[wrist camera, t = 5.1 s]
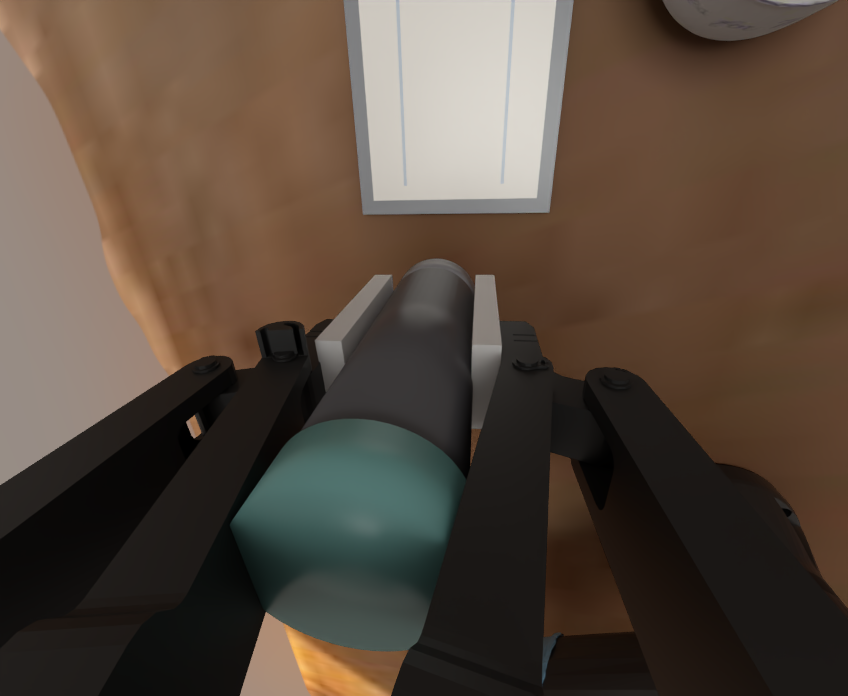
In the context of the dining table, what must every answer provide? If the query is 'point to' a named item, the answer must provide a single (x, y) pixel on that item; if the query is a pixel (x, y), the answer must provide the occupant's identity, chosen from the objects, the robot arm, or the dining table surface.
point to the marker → (372, 476)
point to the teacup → (740, 16)
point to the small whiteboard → (457, 103)
